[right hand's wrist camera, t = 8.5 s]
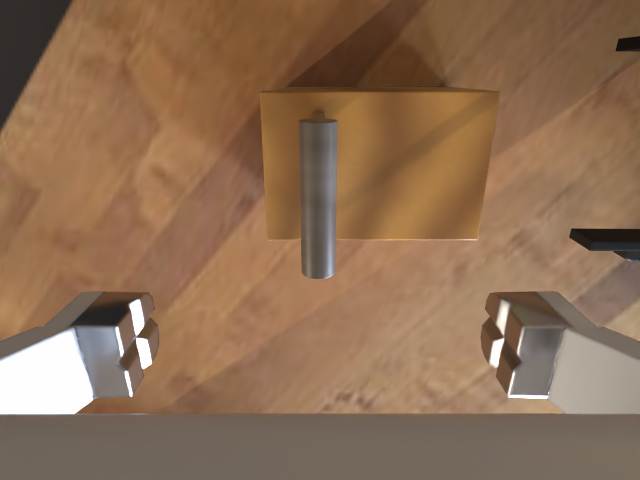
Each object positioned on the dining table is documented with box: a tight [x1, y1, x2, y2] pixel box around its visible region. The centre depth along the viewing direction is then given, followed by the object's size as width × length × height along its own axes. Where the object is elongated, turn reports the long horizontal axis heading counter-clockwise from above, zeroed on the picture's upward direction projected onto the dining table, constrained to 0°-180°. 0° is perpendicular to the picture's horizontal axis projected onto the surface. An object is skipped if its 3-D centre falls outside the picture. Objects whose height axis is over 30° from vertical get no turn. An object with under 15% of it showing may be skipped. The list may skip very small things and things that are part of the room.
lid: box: [260, 91, 500, 279], centre depth 22 cm, size 14×9×8 cm, turn 90°
